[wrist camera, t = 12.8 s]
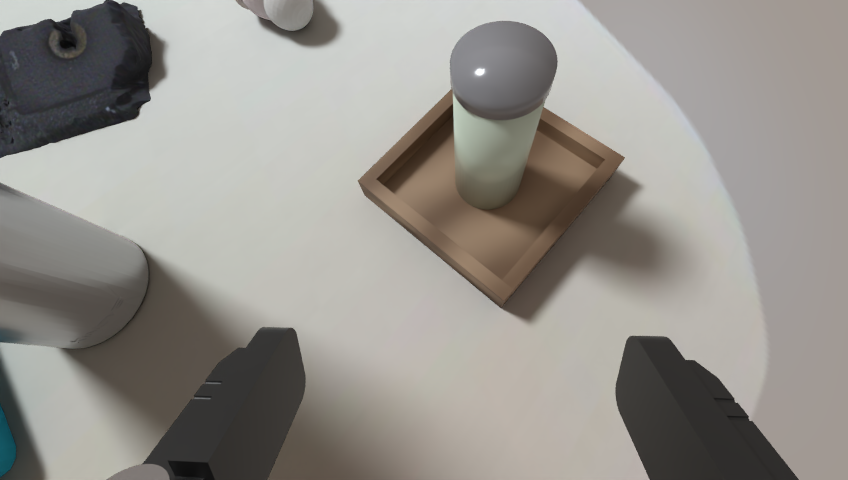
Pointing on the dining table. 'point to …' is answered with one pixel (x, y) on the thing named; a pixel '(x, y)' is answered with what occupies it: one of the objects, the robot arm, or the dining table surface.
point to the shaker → (497, 107)
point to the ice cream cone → (282, 11)
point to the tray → (497, 228)
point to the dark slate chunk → (72, 75)
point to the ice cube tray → (6, 445)
